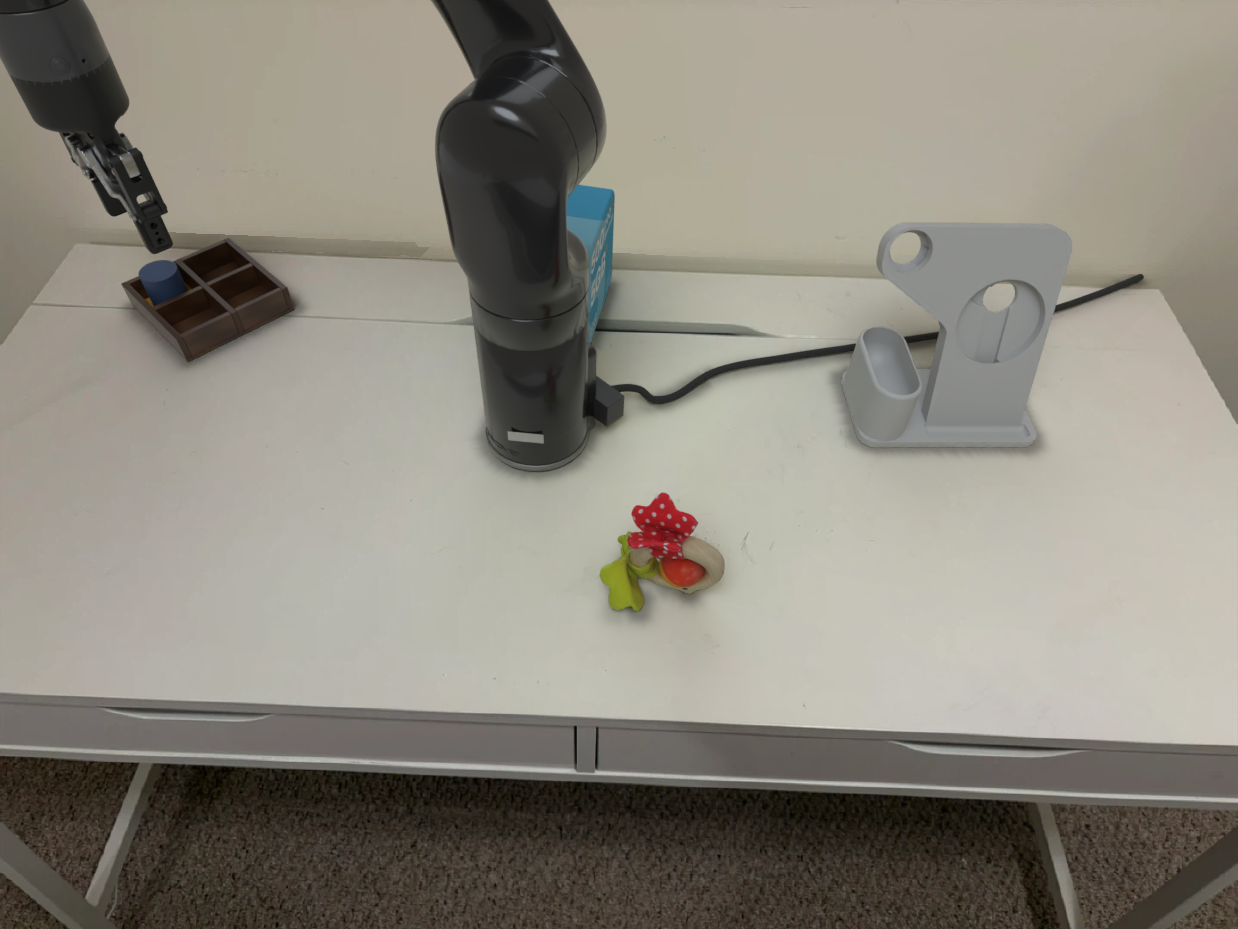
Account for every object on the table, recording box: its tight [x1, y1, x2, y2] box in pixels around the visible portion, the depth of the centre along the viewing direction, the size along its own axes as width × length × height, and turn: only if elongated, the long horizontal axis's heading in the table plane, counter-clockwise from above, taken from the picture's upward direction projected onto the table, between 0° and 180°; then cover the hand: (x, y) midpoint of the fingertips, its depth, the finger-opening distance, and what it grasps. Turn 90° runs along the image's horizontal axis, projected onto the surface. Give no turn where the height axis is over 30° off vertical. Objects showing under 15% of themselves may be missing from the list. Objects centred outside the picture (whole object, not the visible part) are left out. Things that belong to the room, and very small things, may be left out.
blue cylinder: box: [138, 259, 188, 306], centre depth 84 cm, size 4×4×4 cm
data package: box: [567, 184, 616, 345], centre depth 83 cm, size 12×4×12 cm, turn 169°
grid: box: [121, 237, 295, 363], centre depth 85 cm, size 12×12×3 cm
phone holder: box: [840, 221, 1073, 448], centre depth 73 cm, size 17×10×18 cm, turn 92°
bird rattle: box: [599, 492, 726, 613], centre depth 62 cm, size 6×11×9 cm
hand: (140, 230), depth 79 cm, fingers open, 8 cm apart
